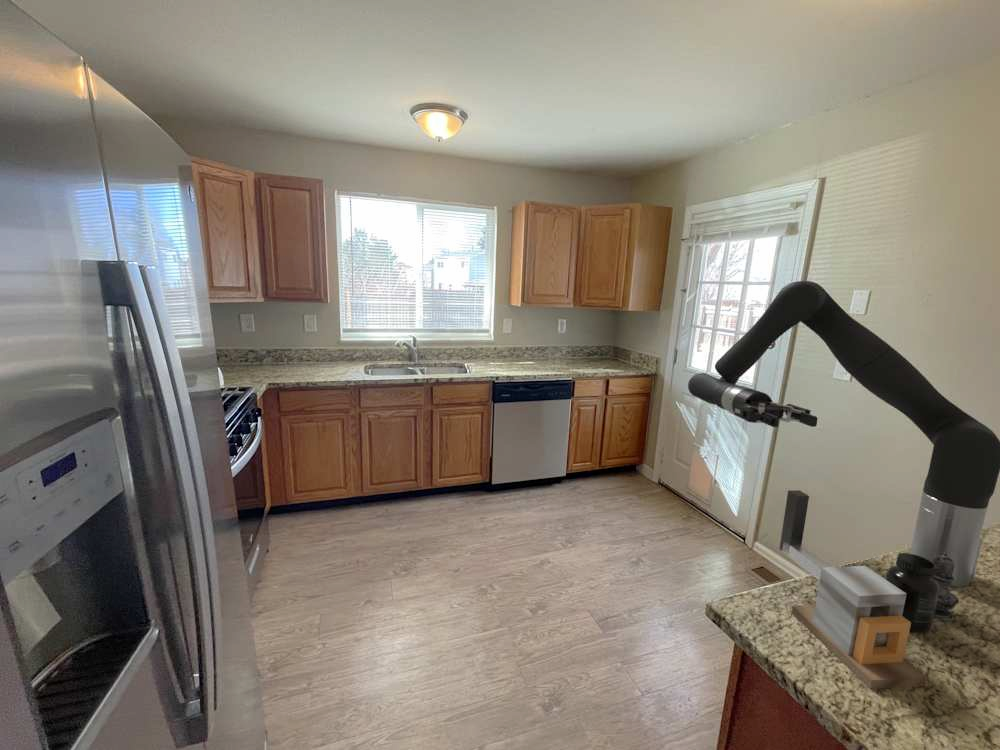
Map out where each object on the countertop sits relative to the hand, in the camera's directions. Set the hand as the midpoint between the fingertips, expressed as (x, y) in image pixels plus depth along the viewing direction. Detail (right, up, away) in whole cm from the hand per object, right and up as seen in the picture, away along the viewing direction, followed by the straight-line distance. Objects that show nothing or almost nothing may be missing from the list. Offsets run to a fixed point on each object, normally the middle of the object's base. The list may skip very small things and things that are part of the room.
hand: (796, 422), depth 88 cm
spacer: (-2, -35, -21) cm, 41 cm away
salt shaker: (+20, -35, -8) cm, 41 cm away
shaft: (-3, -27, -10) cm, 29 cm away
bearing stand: (-3, -36, -17) cm, 40 cm away
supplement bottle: (+12, -35, -11) cm, 39 cm away
